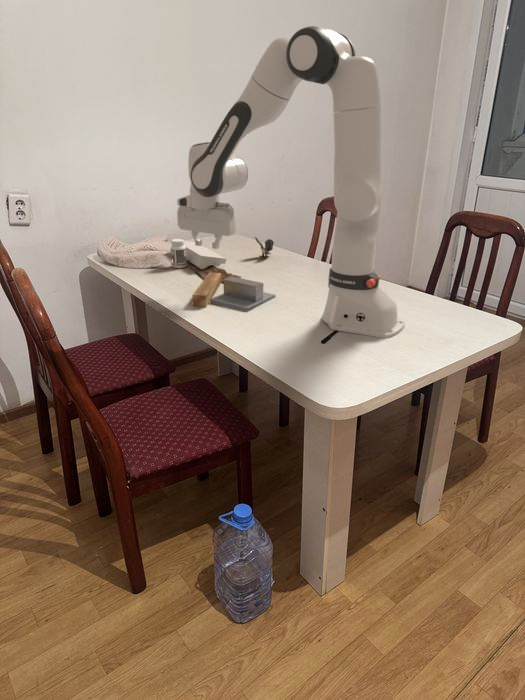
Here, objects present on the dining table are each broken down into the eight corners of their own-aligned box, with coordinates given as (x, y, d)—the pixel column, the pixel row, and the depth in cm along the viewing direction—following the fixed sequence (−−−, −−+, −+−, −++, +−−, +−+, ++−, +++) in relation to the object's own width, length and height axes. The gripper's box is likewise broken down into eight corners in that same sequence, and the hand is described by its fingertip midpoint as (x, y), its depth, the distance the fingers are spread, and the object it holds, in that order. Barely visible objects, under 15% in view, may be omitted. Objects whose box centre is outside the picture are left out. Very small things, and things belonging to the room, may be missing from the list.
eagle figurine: (253, 261, 200) (253, 238, 196) (254, 256, 206) (255, 234, 202) (273, 261, 199) (273, 238, 196) (273, 257, 206) (274, 234, 202)
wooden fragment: (247, 280, 174) (247, 277, 174) (221, 289, 168) (221, 286, 168) (207, 264, 193) (206, 261, 192) (182, 271, 187) (181, 268, 186)
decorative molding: (193, 253, 216) (171, 250, 212) (195, 242, 215) (172, 239, 210) (224, 271, 188) (199, 268, 184) (226, 258, 187) (201, 255, 182)
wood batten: (221, 284, 173) (221, 273, 171) (206, 308, 151) (205, 295, 150) (209, 283, 173) (209, 272, 172) (192, 307, 152) (192, 294, 150)
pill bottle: (188, 264, 194) (187, 238, 189) (184, 268, 188) (183, 242, 184) (174, 264, 194) (172, 238, 190) (169, 268, 189) (168, 241, 185)
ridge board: (275, 298, 159) (275, 279, 157) (248, 312, 148) (248, 291, 145) (238, 290, 166) (238, 271, 164) (210, 302, 155) (209, 283, 152)
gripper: (239, 202, 149) (240, 249, 155) (186, 197, 159) (189, 241, 165) (226, 205, 144) (228, 253, 150) (172, 199, 155) (176, 244, 160)
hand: (207, 246), depth 158 cm, fingers open, 5 cm apart
